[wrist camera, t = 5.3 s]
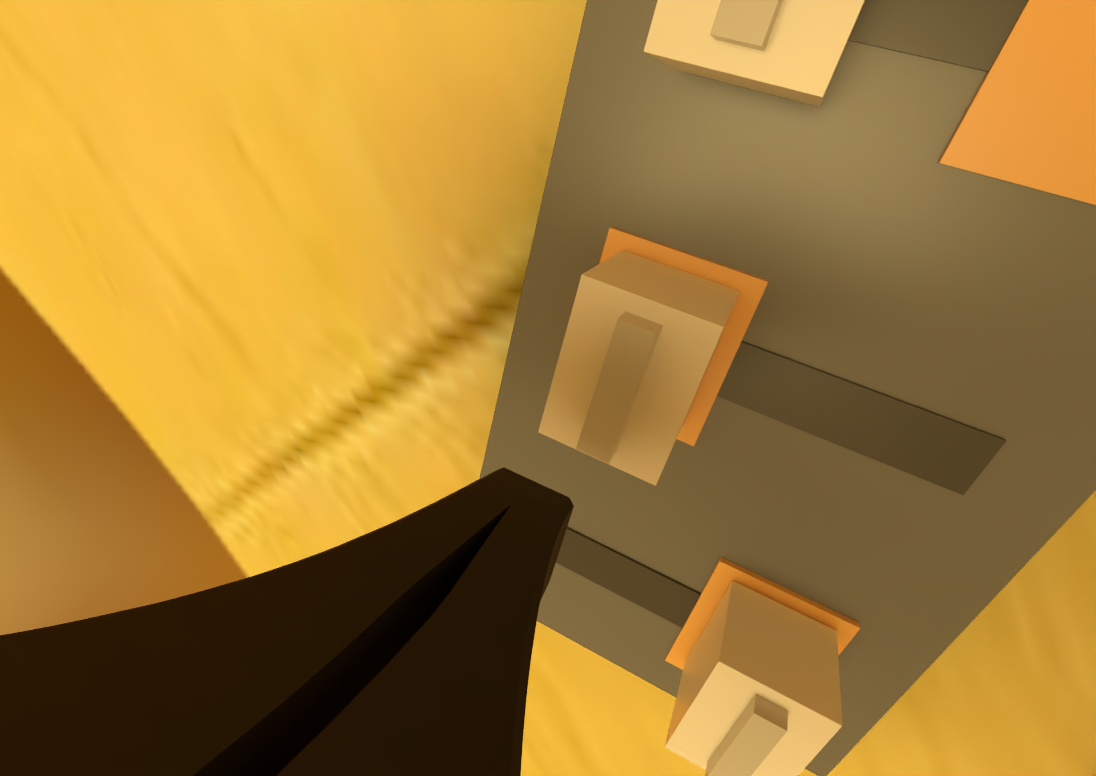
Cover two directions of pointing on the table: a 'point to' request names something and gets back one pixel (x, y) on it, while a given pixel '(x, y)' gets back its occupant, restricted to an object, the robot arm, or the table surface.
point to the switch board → (829, 334)
